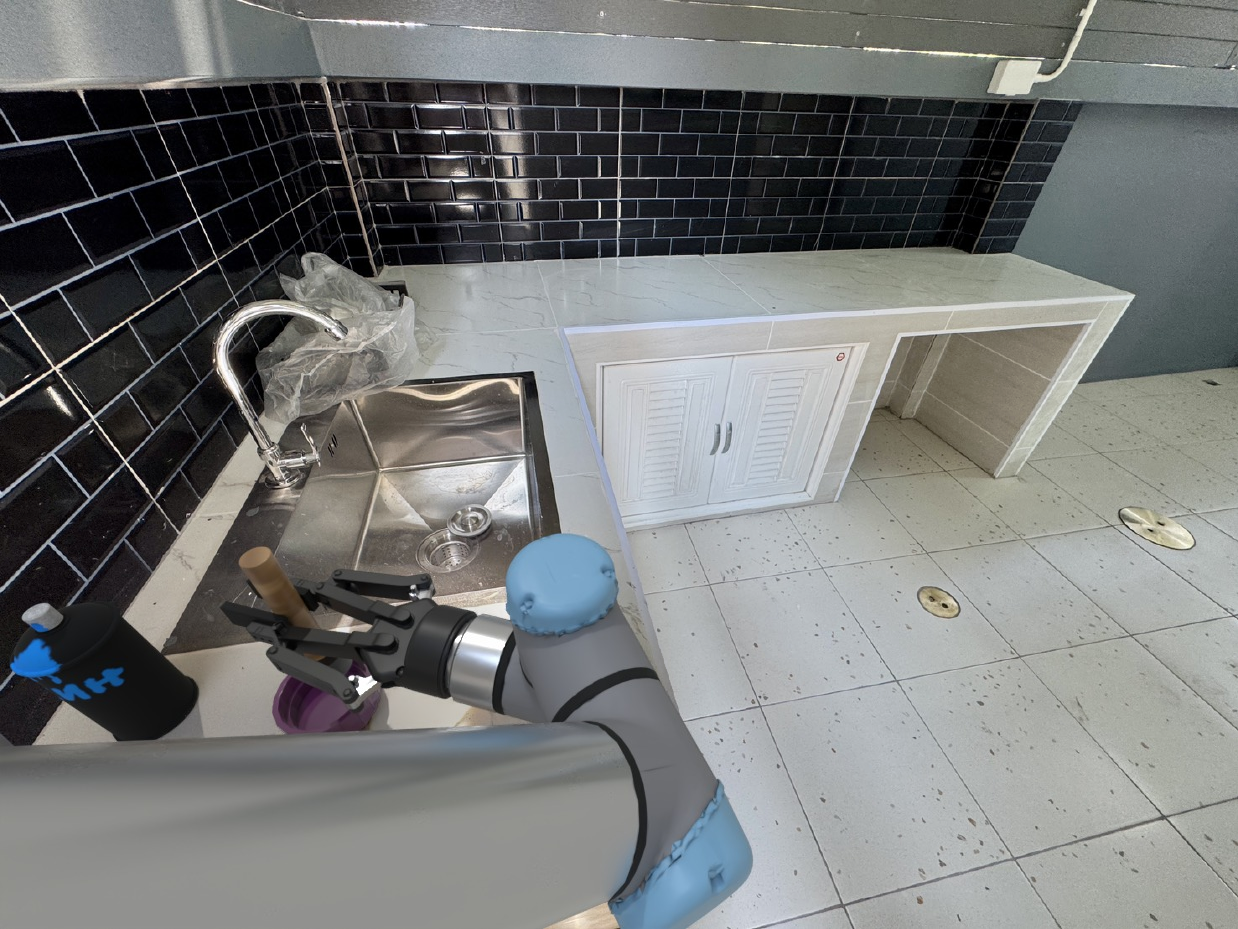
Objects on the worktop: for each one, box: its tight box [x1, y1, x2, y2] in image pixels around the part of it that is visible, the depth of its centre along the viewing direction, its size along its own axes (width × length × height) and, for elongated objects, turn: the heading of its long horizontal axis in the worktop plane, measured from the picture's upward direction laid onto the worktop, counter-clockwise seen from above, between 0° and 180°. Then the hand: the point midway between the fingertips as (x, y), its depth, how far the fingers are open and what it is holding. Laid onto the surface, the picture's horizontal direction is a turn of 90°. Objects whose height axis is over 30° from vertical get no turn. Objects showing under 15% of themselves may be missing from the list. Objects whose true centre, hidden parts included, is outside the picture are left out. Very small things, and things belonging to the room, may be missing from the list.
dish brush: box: [238, 546, 352, 686], centre depth 48 cm, size 5×5×18 cm
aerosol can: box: [9, 600, 199, 742], centre depth 53 cm, size 8×8×20 cm
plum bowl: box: [271, 660, 381, 734], centre depth 59 cm, size 10×10×4 cm
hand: (243, 599), depth 49 cm, fingers closed on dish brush, 2 cm apart
